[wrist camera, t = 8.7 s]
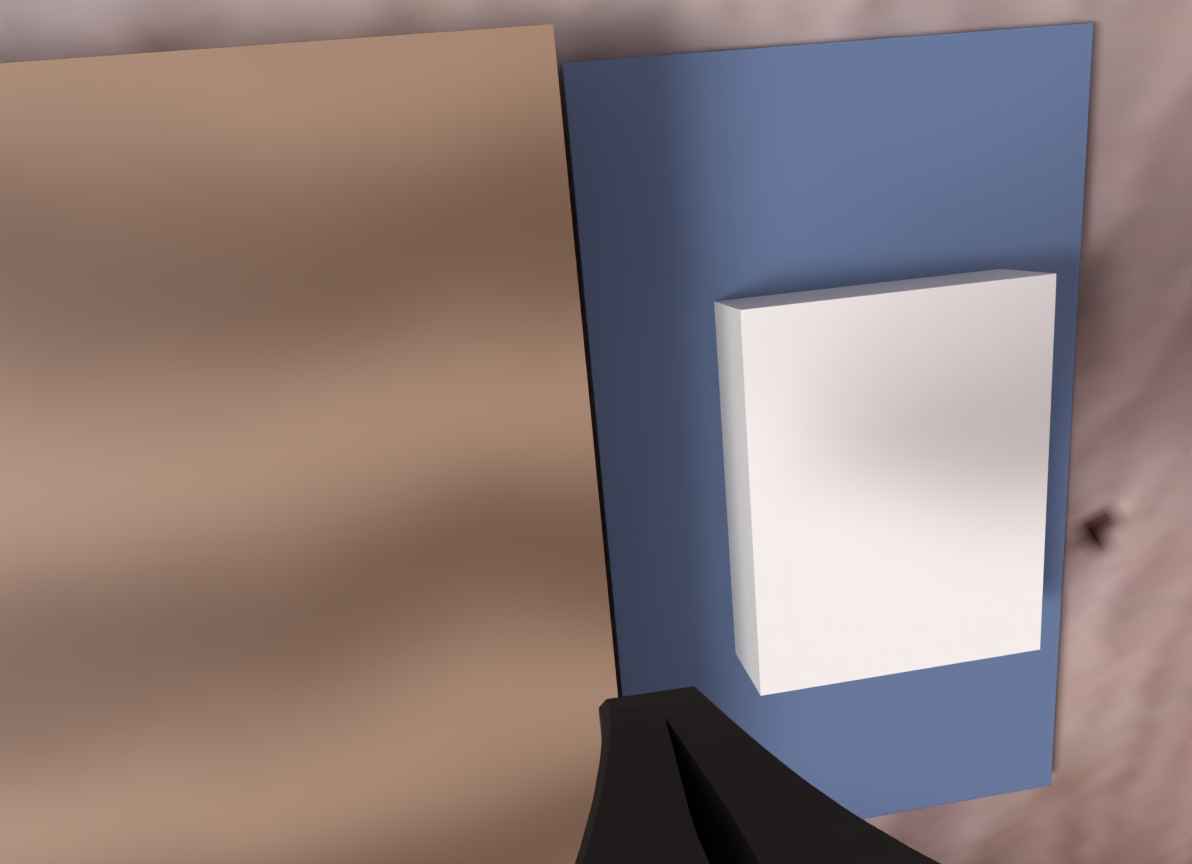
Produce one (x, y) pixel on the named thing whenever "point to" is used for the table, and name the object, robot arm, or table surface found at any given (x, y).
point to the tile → (886, 473)
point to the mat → (802, 263)
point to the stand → (296, 459)
